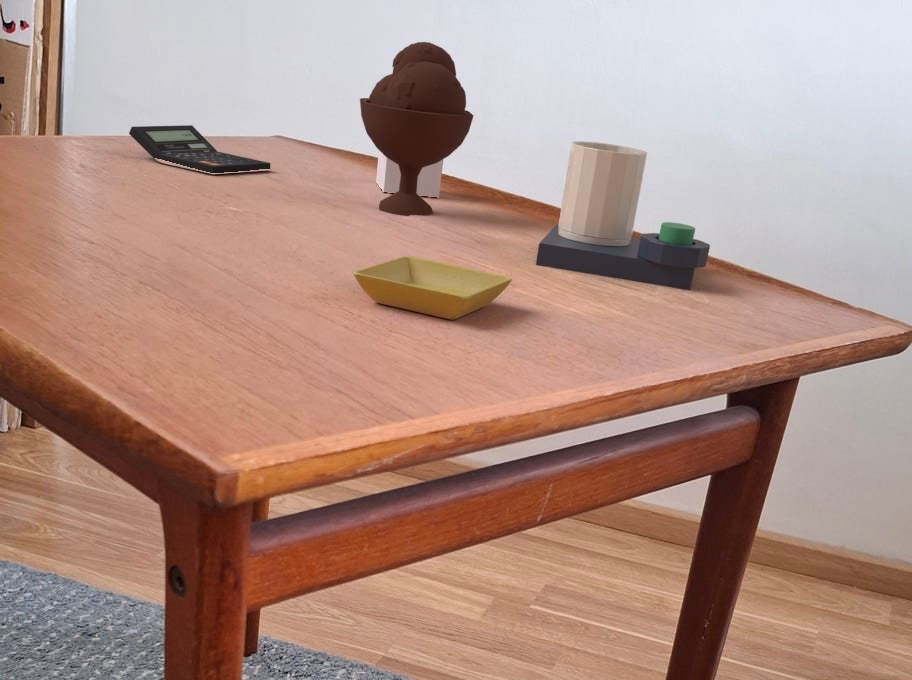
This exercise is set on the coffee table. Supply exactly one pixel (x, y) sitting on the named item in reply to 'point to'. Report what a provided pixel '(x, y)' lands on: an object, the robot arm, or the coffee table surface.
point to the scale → (627, 259)
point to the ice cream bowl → (416, 119)
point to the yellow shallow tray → (430, 286)
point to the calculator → (190, 149)
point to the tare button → (676, 233)
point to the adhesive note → (391, 177)
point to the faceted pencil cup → (601, 193)
